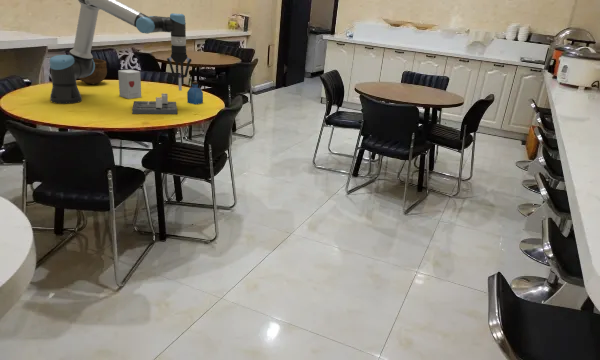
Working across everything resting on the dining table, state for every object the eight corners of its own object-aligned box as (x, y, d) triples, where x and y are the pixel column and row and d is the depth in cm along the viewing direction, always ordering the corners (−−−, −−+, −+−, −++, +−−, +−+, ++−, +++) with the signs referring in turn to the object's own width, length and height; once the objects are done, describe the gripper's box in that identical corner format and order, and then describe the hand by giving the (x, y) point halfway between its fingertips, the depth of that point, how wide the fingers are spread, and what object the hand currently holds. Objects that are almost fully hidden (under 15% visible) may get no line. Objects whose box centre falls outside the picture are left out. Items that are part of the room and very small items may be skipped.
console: (132, 113, 232) (132, 109, 231) (134, 105, 248) (133, 100, 247) (177, 114, 238) (177, 109, 237) (176, 105, 255) (175, 101, 254)
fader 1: (155, 107, 235) (155, 99, 234) (156, 105, 240) (155, 97, 238) (162, 107, 236) (161, 99, 235) (162, 105, 241) (161, 97, 239)
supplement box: (128, 99, 262) (126, 72, 256) (119, 96, 266) (117, 70, 261) (142, 97, 269) (140, 71, 263) (132, 94, 273) (131, 69, 268)
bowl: (101, 87, 285) (99, 63, 279) (70, 85, 284) (68, 61, 279) (113, 82, 302) (111, 59, 297) (84, 80, 302) (82, 57, 296)
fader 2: (161, 103, 245) (161, 95, 244) (161, 101, 250) (161, 93, 248) (167, 103, 246) (167, 95, 244) (167, 101, 250) (167, 93, 249)
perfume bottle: (195, 104, 261) (195, 83, 257) (187, 102, 264) (187, 81, 260) (202, 103, 266) (202, 82, 262) (195, 101, 269) (194, 80, 265)
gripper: (165, 45, 234) (167, 91, 242) (191, 46, 237) (193, 91, 246) (165, 43, 240) (167, 88, 249) (191, 44, 244) (192, 88, 253)
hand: (180, 90), depth 247 cm, fingers closed
